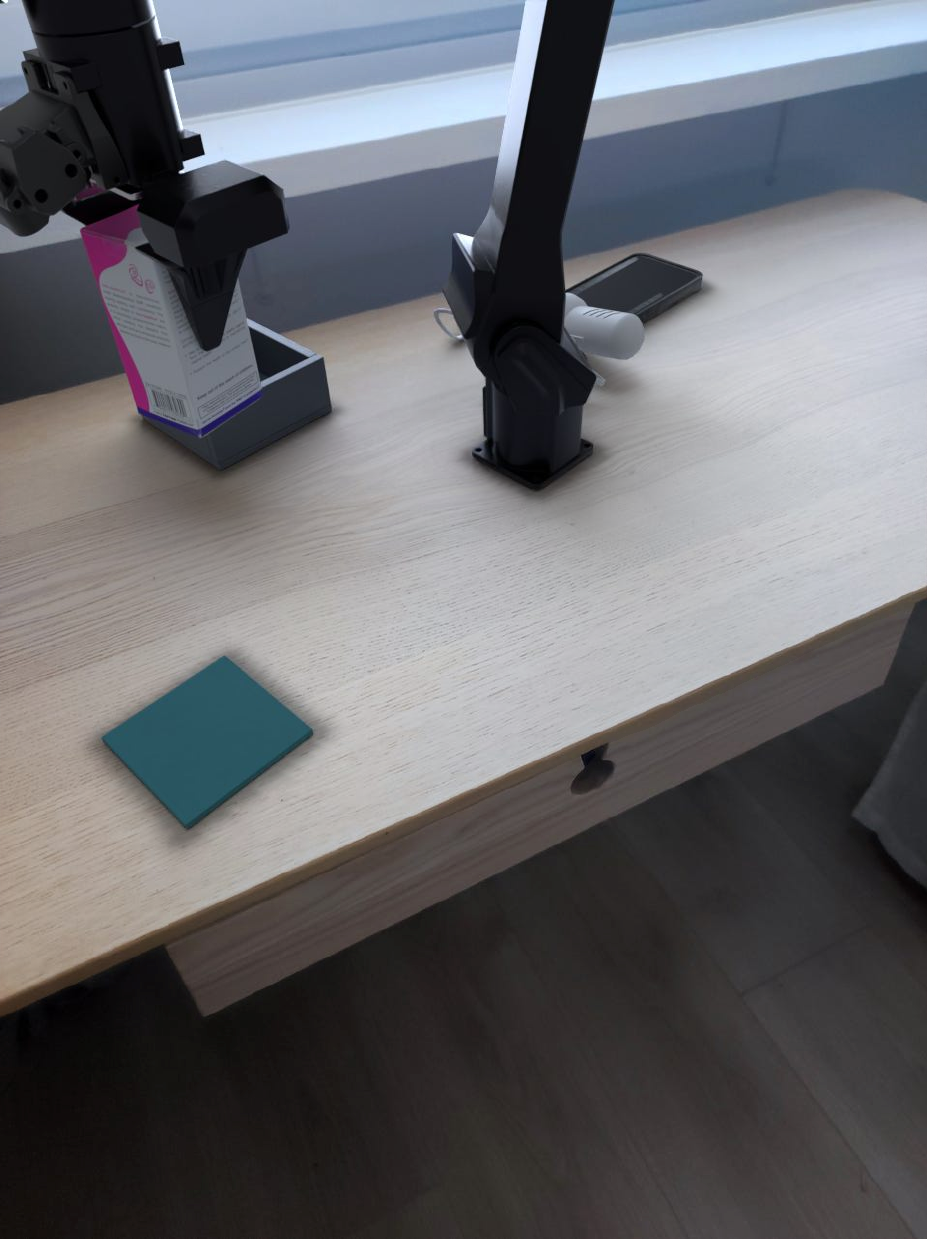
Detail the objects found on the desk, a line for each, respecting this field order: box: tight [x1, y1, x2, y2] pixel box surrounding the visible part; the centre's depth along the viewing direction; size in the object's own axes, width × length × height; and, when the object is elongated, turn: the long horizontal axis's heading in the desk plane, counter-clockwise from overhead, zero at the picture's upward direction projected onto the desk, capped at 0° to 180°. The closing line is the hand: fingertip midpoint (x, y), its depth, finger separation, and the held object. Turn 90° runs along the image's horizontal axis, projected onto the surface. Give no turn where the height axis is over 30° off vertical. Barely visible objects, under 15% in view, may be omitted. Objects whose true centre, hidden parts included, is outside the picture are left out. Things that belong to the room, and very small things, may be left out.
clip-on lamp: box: [433, 293, 646, 387], centre depth 72 cm, size 12×6×18 cm
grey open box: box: [140, 318, 333, 471], centre depth 69 cm, size 11×11×5 cm
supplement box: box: [79, 204, 263, 438], centre depth 53 cm, size 6×6×12 cm
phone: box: [565, 252, 704, 324], centre depth 81 cm, size 8×1×15 cm
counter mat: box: [101, 654, 314, 830], centre depth 48 cm, size 8×8×1 cm
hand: (180, 330), depth 54 cm, fingers closed on supplement box, 6 cm apart
